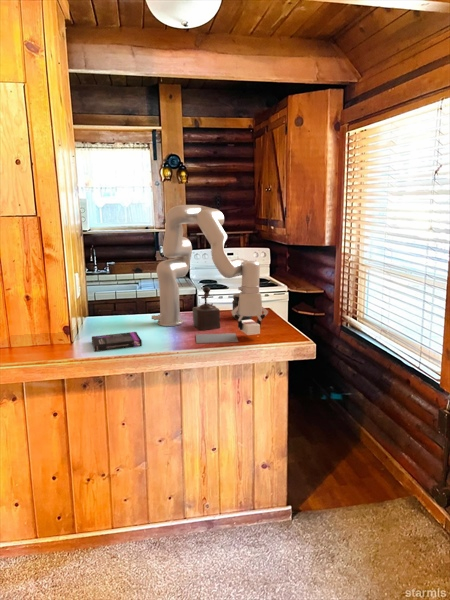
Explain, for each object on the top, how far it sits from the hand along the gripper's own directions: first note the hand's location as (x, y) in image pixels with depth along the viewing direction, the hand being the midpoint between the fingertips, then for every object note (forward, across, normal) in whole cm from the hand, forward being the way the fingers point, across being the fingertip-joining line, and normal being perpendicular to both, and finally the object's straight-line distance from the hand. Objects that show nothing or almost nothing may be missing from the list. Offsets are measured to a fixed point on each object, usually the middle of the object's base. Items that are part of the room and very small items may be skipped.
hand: (249, 328), depth 195 cm
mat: (+4, -14, +1) cm, 15 cm away
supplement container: (+5, +2, +34) cm, 35 cm away
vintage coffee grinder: (+5, -18, +22) cm, 30 cm away
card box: (+1, 0, 0) cm, 1 cm away
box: (+6, -58, -2) cm, 58 cm away
